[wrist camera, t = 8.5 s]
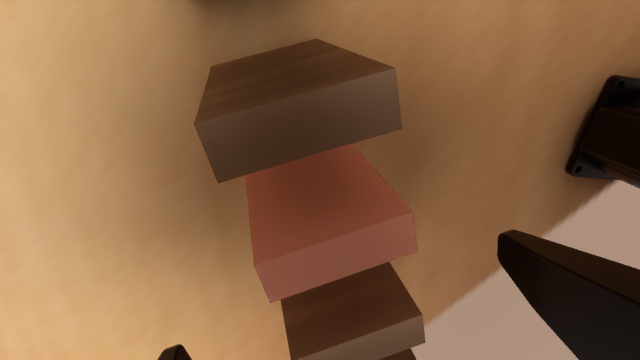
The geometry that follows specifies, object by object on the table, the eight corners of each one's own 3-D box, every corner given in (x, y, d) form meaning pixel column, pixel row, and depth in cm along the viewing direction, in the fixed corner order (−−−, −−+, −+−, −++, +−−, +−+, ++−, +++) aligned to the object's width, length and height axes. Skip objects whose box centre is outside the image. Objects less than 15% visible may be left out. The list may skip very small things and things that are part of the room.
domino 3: (267, 223, 20) (291, 361, 12) (349, 198, 21) (422, 314, 13) (274, 245, 21) (302, 387, 13) (353, 220, 22) (425, 342, 14)
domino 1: (211, 66, 16) (194, 124, 8) (316, 38, 17) (395, 68, 9) (223, 100, 17) (218, 183, 9) (323, 73, 17) (401, 128, 9)
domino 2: (243, 152, 18) (254, 265, 10) (335, 124, 19) (412, 211, 11) (253, 179, 19) (270, 303, 11) (341, 151, 19) (417, 251, 12)
